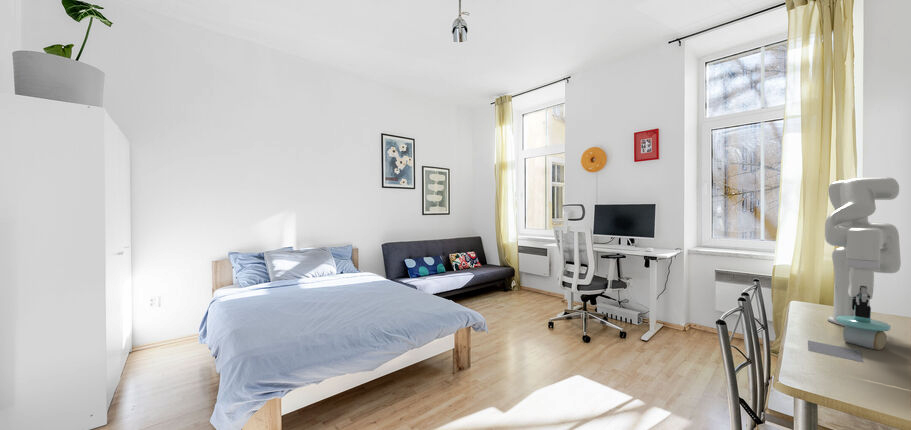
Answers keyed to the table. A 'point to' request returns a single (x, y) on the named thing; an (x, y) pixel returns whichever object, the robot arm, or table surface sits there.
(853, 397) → the table surface
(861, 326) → the lid
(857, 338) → the ceramic mug
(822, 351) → the mat
